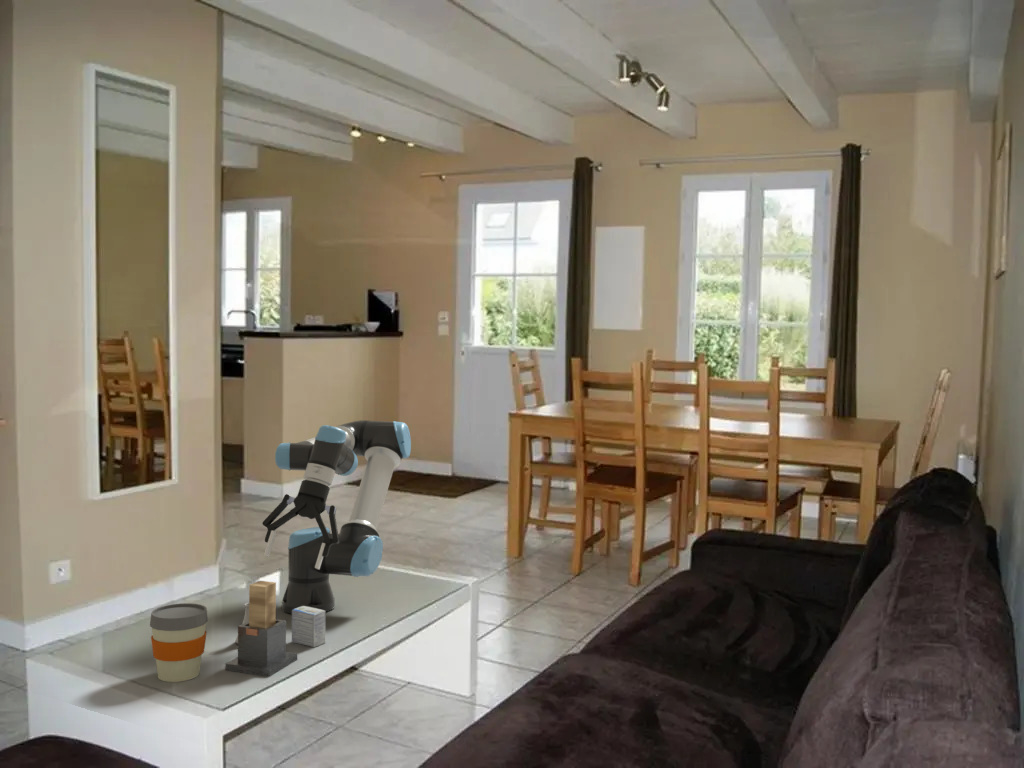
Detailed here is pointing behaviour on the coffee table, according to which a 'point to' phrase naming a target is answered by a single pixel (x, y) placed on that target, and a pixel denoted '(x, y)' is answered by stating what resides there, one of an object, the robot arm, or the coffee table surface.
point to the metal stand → (261, 650)
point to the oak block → (262, 604)
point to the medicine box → (308, 626)
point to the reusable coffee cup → (178, 640)
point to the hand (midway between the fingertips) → (291, 562)
